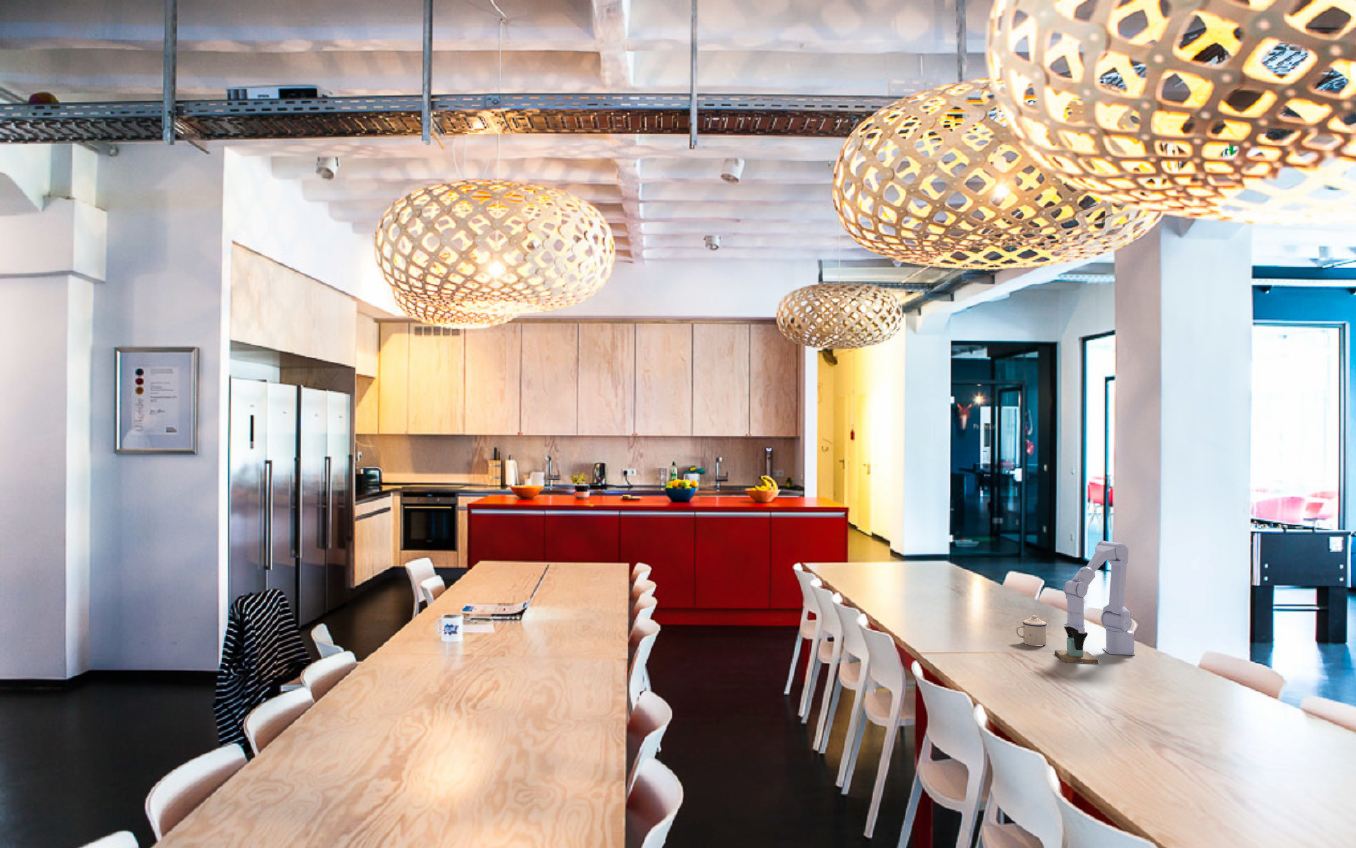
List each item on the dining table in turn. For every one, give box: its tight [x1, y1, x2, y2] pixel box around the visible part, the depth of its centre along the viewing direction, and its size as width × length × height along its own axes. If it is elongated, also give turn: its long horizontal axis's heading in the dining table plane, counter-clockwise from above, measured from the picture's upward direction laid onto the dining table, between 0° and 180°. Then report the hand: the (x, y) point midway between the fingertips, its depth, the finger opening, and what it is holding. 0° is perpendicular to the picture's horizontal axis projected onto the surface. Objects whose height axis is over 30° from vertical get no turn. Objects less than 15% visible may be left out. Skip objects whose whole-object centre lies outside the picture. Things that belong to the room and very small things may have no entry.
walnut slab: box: [1054, 649, 1099, 664], centre depth 302 cm, size 12×12×2 cm
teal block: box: [1066, 636, 1084, 657], centre depth 303 cm, size 4×4×6 cm
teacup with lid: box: [1015, 614, 1047, 646], centre depth 325 cm, size 12×9×12 cm
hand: (1075, 647), depth 303 cm, fingers open, 6 cm apart
